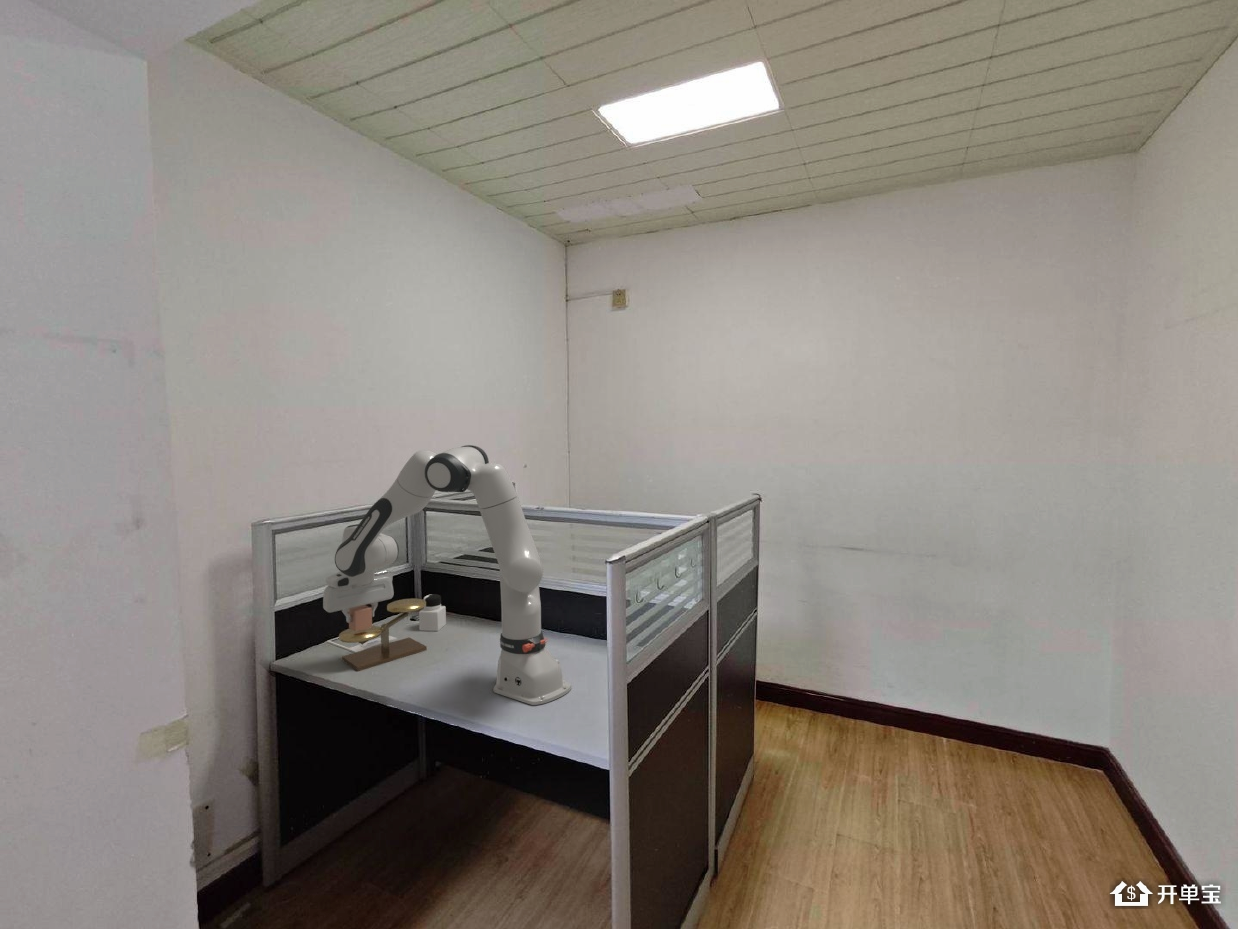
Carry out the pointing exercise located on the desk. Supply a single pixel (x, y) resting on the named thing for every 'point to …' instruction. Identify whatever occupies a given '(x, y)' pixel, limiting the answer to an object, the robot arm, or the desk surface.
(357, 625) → the block
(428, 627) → the medicine bottle
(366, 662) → the balance
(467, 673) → the desk surface
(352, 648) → the photo frame
